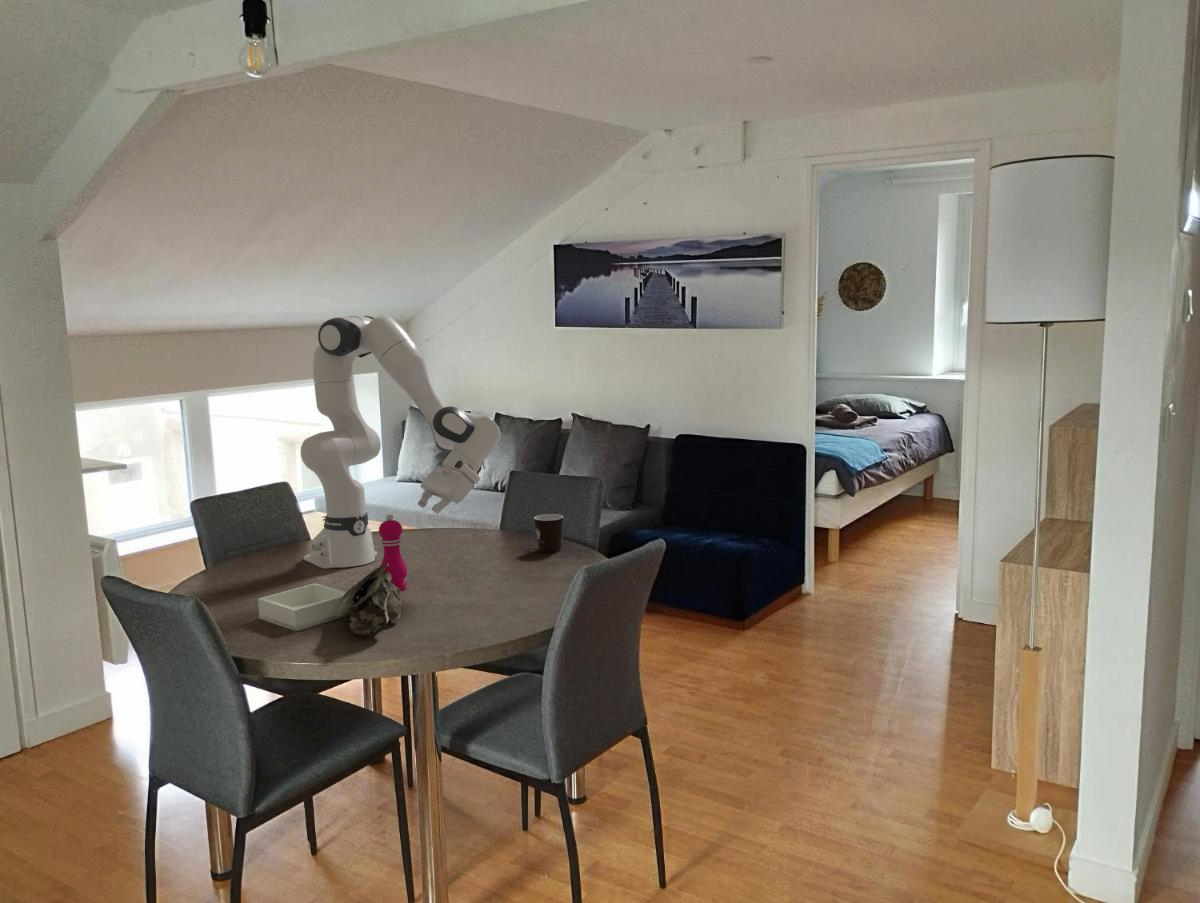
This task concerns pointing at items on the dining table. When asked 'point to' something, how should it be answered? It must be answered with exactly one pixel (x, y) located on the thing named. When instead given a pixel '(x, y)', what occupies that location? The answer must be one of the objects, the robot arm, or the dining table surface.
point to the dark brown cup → (549, 532)
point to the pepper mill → (393, 551)
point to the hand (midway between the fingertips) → (427, 508)
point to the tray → (301, 606)
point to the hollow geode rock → (371, 603)
